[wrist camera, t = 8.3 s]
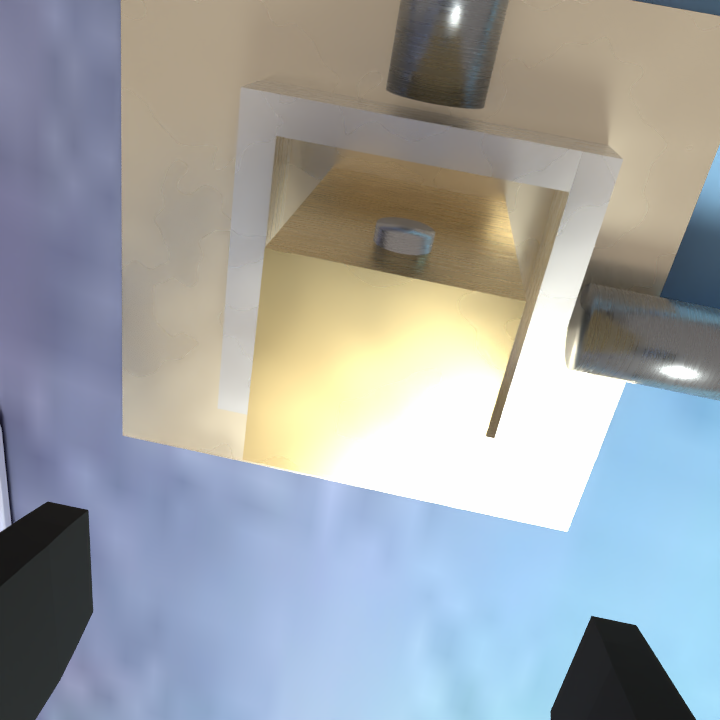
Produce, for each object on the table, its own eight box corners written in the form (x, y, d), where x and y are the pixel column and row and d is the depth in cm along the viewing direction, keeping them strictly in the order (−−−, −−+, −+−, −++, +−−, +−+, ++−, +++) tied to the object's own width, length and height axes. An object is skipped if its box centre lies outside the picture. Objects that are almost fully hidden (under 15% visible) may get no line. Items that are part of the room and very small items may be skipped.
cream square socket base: (131, 424, 21) (89, 476, 18) (133, -226, 13) (64, -274, 11) (667, 539, 20) (694, 609, 18) (972, -85, 13) (1085, -106, 10)
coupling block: (308, 334, 18) (241, 473, 12) (334, 153, 16) (266, 228, 10) (461, 366, 18) (459, 521, 12) (509, 188, 15) (531, 282, 10)
